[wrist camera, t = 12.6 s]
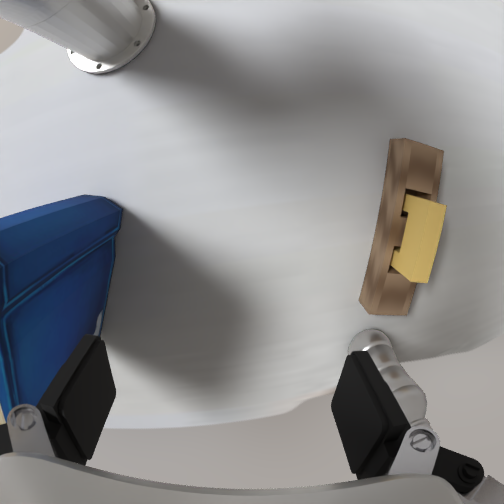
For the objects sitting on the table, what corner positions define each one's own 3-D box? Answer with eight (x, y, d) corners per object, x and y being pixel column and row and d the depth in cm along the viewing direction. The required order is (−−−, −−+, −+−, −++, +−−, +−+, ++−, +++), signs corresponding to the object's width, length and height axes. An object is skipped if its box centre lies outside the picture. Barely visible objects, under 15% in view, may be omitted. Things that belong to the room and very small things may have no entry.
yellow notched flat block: (396, 191, 35) (429, 201, 27) (411, 194, 35) (446, 205, 28) (382, 258, 38) (410, 281, 30) (397, 260, 38) (427, 283, 30)
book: (86, 182, 34) (-71, 231, 10) (132, 199, 35) (-14, 273, 11) (64, 318, 40) (-26, 426, 16) (102, 336, 41) (26, 462, 17)
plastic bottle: (391, 331, 42) (455, 421, 23) (366, 364, 44) (414, 460, 25) (361, 317, 41) (424, 416, 22) (335, 353, 43) (378, 458, 24)
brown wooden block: (389, 139, 33) (405, 138, 30) (426, 150, 34) (443, 150, 30) (358, 300, 40) (368, 314, 36) (394, 302, 40) (406, 315, 37)
